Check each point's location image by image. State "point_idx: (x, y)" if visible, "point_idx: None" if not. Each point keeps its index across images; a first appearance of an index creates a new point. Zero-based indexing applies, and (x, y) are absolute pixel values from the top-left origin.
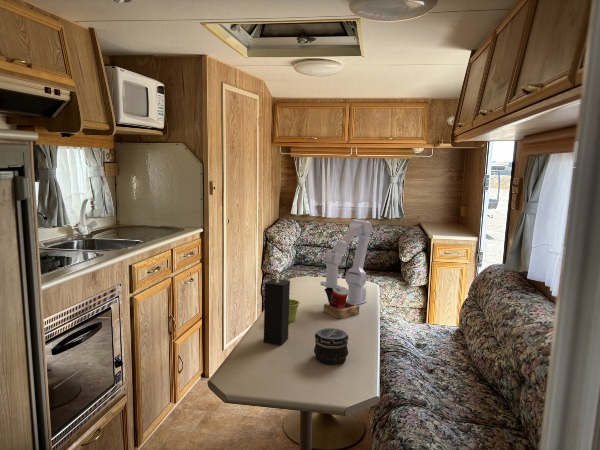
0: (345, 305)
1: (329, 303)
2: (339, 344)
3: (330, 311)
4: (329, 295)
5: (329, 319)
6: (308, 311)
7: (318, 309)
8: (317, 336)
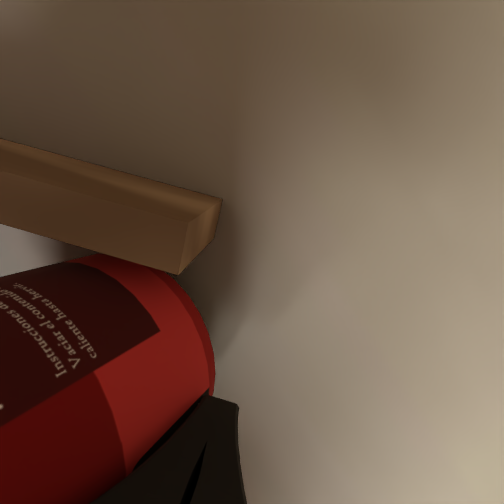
0: None
1: (142, 320)
2: None
3: (68, 170)
4: (152, 489)
5: (2, 8)
6: (426, 83)
7: (347, 261)
8: None
